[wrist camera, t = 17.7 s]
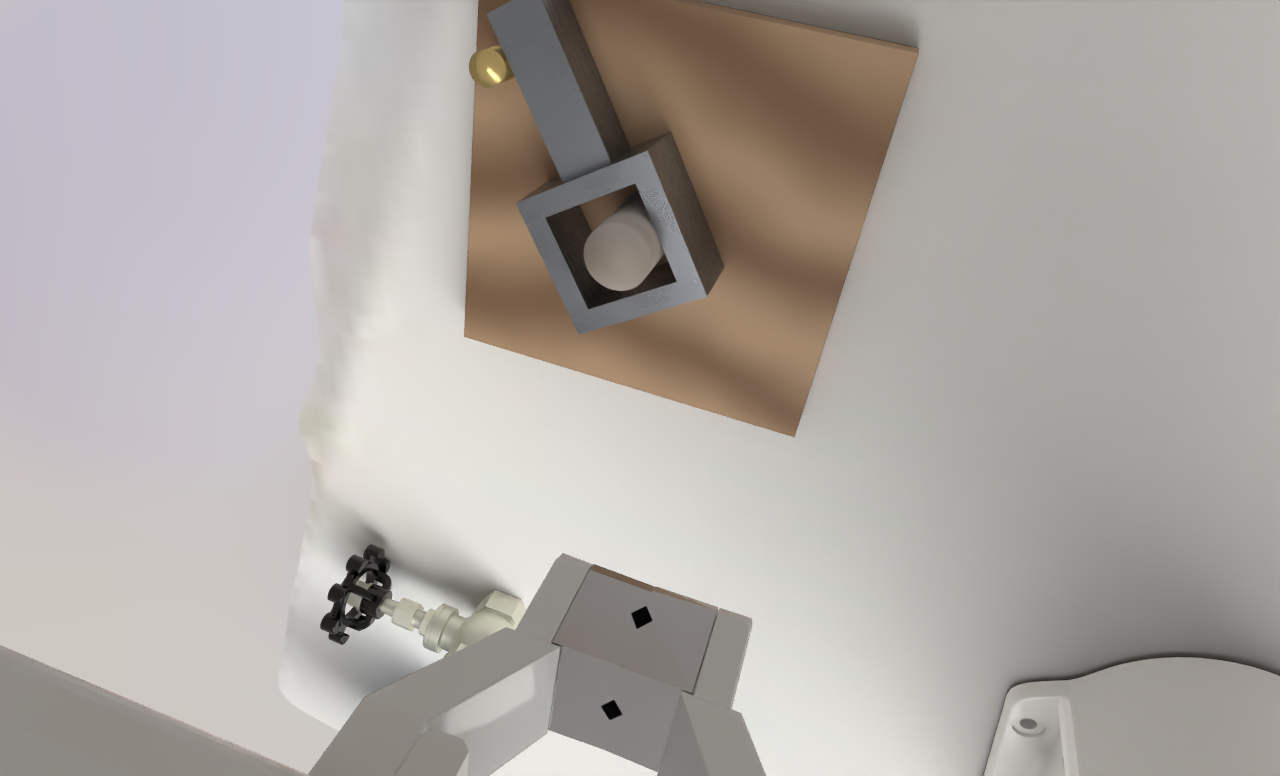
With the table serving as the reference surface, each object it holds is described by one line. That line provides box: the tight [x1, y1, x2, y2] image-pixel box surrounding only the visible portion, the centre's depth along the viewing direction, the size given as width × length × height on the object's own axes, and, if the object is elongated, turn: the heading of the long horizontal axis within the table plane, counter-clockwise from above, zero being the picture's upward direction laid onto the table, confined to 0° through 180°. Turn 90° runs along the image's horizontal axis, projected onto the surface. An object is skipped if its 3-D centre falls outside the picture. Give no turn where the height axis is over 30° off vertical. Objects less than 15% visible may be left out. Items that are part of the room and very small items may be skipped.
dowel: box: [469, 45, 515, 88], centre depth 34 cm, size 1×1×4 cm
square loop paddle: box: [487, 0, 725, 335], centre depth 34 cm, size 13×6×4 cm, turn 24°
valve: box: [320, 544, 526, 657], centre depth 53 cm, size 7×7×12 cm
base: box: [464, 0, 919, 437], centre depth 35 cm, size 18×18×6 cm
